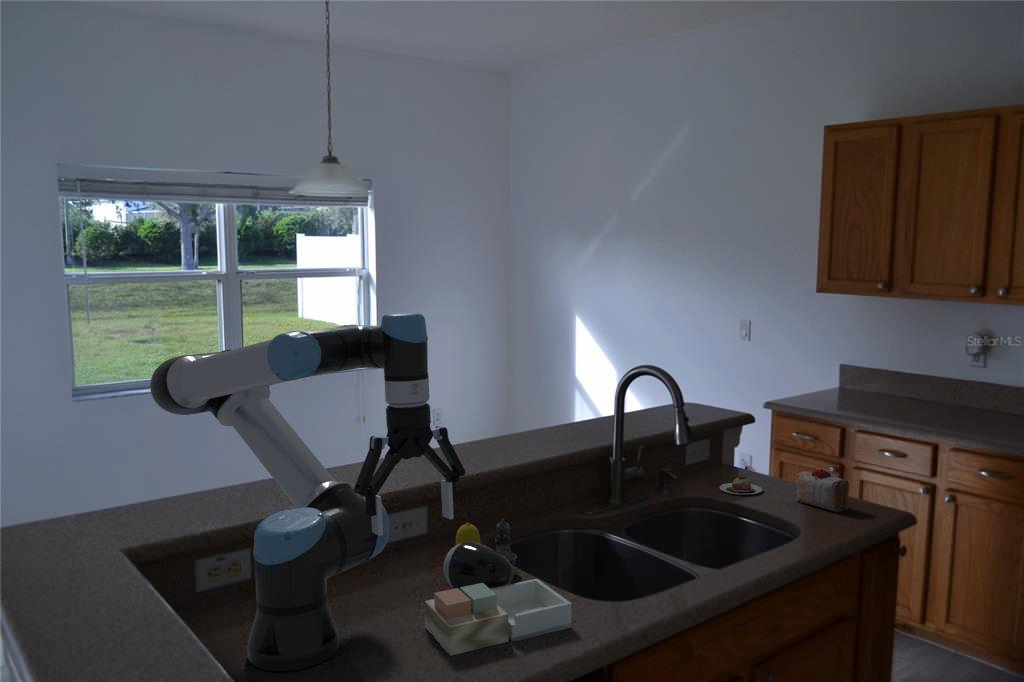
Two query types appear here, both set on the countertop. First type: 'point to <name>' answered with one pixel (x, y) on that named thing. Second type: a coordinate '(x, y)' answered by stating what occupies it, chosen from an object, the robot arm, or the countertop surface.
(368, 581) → the countertop surface
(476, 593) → the sage tile
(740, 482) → the pastry
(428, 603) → the cream tray box
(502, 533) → the dark grey figurine
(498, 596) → the grey bin
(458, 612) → the terracotta tile
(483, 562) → the glossy black oval shape
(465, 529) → the lemon
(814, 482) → the food item
